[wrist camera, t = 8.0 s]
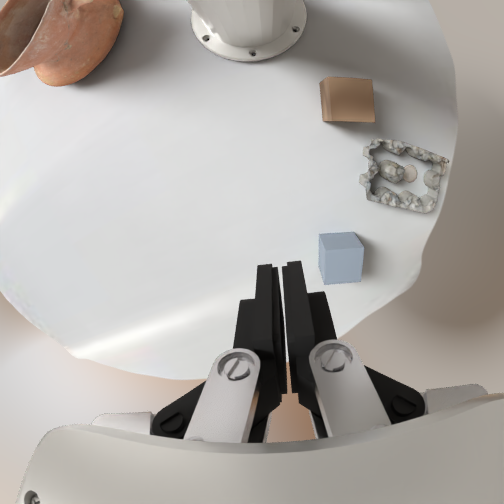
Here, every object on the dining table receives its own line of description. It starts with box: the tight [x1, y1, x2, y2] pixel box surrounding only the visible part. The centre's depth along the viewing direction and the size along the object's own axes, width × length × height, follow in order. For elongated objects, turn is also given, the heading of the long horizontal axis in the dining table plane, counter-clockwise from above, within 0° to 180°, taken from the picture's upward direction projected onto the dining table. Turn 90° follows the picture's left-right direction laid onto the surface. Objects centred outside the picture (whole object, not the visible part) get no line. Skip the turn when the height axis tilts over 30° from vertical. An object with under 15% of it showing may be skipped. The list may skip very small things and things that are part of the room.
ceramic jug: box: [0, 0, 124, 86], centre depth 15 cm, size 18×14×14 cm
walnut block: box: [319, 77, 375, 123], centre depth 23 cm, size 4×4×4 cm
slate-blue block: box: [319, 232, 364, 285], centre depth 32 cm, size 4×4×4 cm
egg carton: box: [359, 139, 449, 213], centre depth 27 cm, size 11×8×4 cm
